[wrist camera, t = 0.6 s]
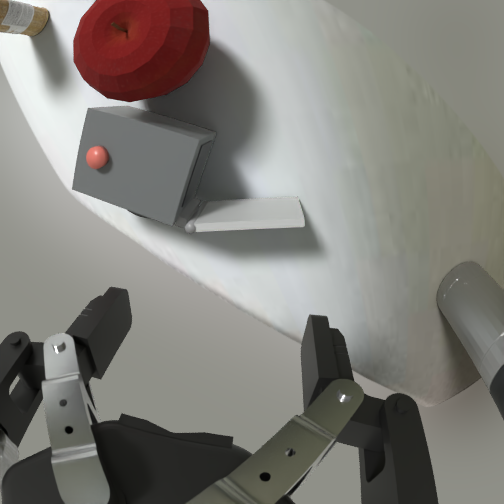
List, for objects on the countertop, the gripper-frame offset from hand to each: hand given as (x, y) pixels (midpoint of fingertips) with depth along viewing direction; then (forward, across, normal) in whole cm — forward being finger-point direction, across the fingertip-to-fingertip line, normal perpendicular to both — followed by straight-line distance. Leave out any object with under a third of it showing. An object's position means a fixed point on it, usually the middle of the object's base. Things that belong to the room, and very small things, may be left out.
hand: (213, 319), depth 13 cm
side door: (+22, 0, +1) cm, 22 cm away
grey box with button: (+22, +11, -4) cm, 25 cm away
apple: (+22, +10, -15) cm, 29 cm away
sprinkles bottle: (+22, +31, -23) cm, 45 cm away
